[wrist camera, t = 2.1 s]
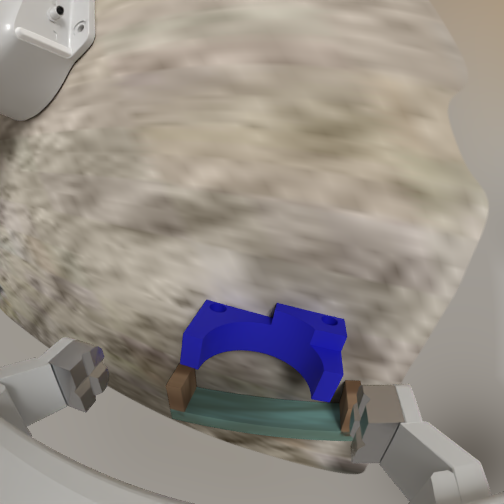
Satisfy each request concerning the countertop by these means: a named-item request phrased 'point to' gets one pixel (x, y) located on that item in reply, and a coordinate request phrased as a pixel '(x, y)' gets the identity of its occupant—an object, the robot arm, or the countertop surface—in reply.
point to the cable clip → (271, 341)
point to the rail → (260, 410)
